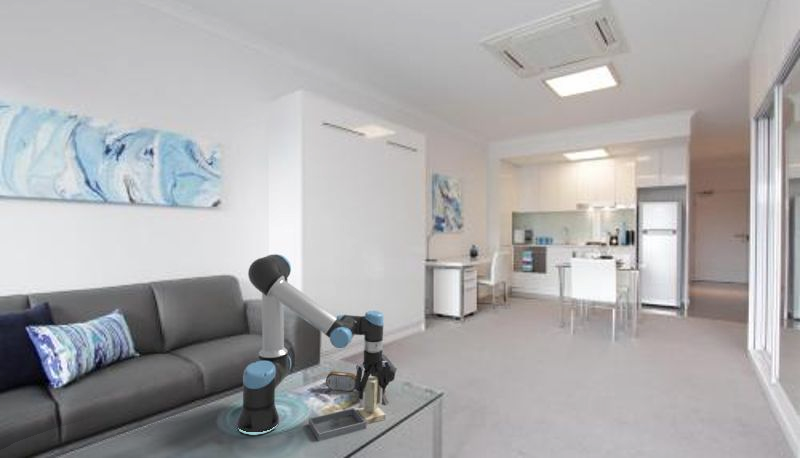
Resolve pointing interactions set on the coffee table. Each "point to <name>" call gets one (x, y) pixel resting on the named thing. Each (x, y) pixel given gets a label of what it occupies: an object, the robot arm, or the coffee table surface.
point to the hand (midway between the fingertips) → (371, 404)
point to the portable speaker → (341, 381)
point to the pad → (372, 415)
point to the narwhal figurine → (390, 376)
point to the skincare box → (371, 394)
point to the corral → (338, 431)
